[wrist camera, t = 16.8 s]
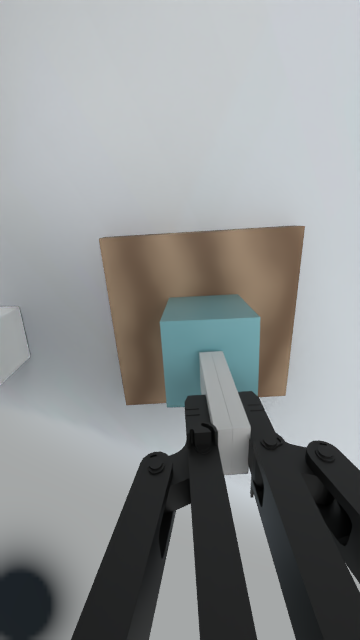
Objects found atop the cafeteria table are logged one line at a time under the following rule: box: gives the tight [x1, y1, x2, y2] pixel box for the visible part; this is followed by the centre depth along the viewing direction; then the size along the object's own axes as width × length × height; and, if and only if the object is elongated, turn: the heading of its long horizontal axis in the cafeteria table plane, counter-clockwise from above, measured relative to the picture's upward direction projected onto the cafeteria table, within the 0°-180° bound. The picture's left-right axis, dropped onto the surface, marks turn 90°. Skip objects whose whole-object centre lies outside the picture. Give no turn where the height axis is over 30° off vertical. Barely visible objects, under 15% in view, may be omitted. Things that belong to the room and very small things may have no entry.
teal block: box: [160, 294, 260, 407], centre depth 21 cm, size 6×6×8 cm
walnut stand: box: [99, 226, 305, 405], centre depth 24 cm, size 18×18×8 cm
